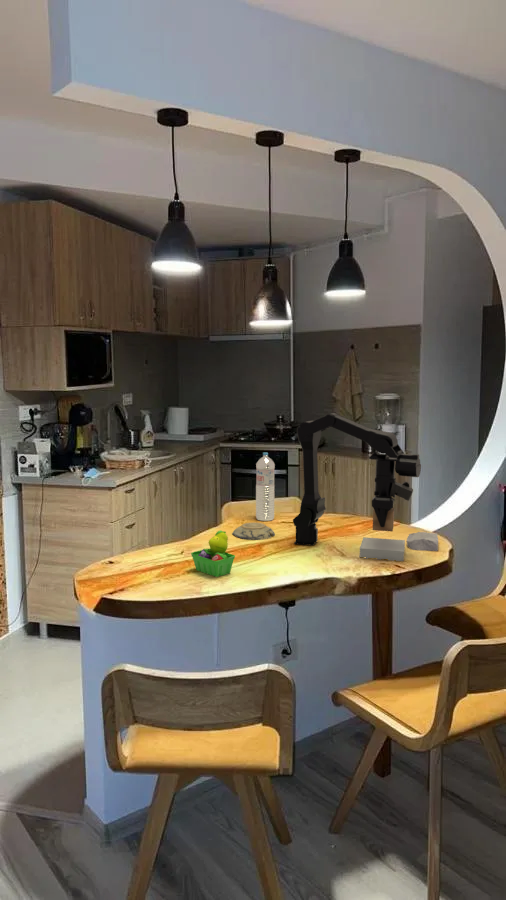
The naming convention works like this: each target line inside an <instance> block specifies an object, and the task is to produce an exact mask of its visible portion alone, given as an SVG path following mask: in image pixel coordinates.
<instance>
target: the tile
mask: <svg viewBox="0 0 506 900" xmlns="http://www.w3.org/2000/svg"><path fill="white" fill-rule="evenodd" d="M405 545H406V540H405V539H392V538H379V537H364V536H363V538H362V540H361V544H360V546H359V557H366V558H365V559H368V558H377V559H376V560H381V559H388V560H387V561H394V560H396V562H404V560H405V559H404V558H405V549H406V546H405Z"/></svg>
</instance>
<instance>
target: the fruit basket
mask: <svg viewBox="0 0 506 900" xmlns="http://www.w3.org/2000/svg"><path fill="white" fill-rule="evenodd" d="M226 533H227V532H226V531H223V530H221V529H220V530H217V531H216V533H215V534H214V536H213V537H211V538H210V539H209V540H208V546H209V548H203V549H200V550H196V551H193V552H190V555H191V557H192V560H193V562H194V566H195V571H198V572H201V573H203V574H207V575H210V576H213V577H216V578H218V577H220V576H222V577H223V576H225V575H227V574H231V571H232V567H233V564H234V560H235V558H236V555H235V554H231V553H228V552H227V550H228V546H229V545H228V544H229V543H228V540H229V537H228V534H226Z"/></svg>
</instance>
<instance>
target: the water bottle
mask: <svg viewBox="0 0 506 900" xmlns="http://www.w3.org/2000/svg"><path fill="white" fill-rule="evenodd" d="M255 465H256V466H255V467H256V475H255V476H256V484H255V518H256V520H258V521H261V522H270V521H273V520H274V519H275V468H276V467H275V466H276V464H275V462H274V460H273V459H272V458H270V457H269V453H268V452H262V457H260V458H259V459H258V461H257V462H256V463H255Z"/></svg>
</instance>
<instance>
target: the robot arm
mask: <svg viewBox="0 0 506 900" xmlns="http://www.w3.org/2000/svg"><path fill="white" fill-rule="evenodd" d="M330 428H333V429H335V430H338V431H340V432H343V433H345V434H347V435H349V436H352V437H354V438H356V439H358V440H361V441H363V442H364V443H366V444H367V445H368V446H369V447H371V448H372V449H373V450H374V451H373V453H372V454H371V455H370V456H369V457H368V459H369V460H375V475H374V476H375V478H374V491H373V495H374V496H373V497H372V499H371V507H372V508H373V510H374V511H375V513H376V516H377V518H378V521H379V524H380V526H381V527H384V526H385V522H386V518H387V513H388V511H389V510H391V509H392V508H394V505H395V504H394V502H395V501H396V499H395V498H396V496H397V497H399V498H402V499H404V501H408V502H409V501H410V500H411V498H412V497H411V496H412V495H413V492H414V489H413V487H410V482H408V481H406V480H405V481H404V482H402V483H401V482H397V479H396V475H395V472H396V474H398V476H399V477H408V478H419V477H420V475H421V469H422V464H421V459H420V454H418V453H417V454H416V453H415V454H411V453H410V454H409V453H408V454H406V453H404V450H402V448H401V446H400V445H399V444H398V441H399V440H398V438H397V436H396V434H394V433H392V432H388V431H383V430H379V429H372V428H370V427H367V426H365V425H363V424H360V423H357V422H356V421H353V420H350V419H348V418H346V417H343V416H341V415H339V414H338V413H335V412H333V413H328V414H326V415H325V416H322V417H320V418H318V419H315V420H308V421H307V420H306V421H303V422H301V423H300V424H299V425H298V426H297V429H296V433H297V439H298V442H299V445H300V447H301V449H302V462H303V464H302V466H303V467H302V469H303V496H302V500H301V503H300V509H299V514H297V515H296V516H295V517H294V518H293V519H292V523H293V525H294V527H295V541H294V543H293V544H294V545H303V546H315V545H316V543H318V540H319V539H318V537H319V535H318V534H319V532H318V531H319V529H318V527H317V523H318V522H319V519H320V518H321V517H322V516H323V515H324V513H325V511H326V509H327V508H326V506H325V505H326V503H325V502H326V497H321V495H320V492H319V471H318V470H319V467H318V466H319V464H318V461H319V460H318V447H319V445H320V441H321V436H322V432H324V431H327V430H328V429H330Z"/></svg>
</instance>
